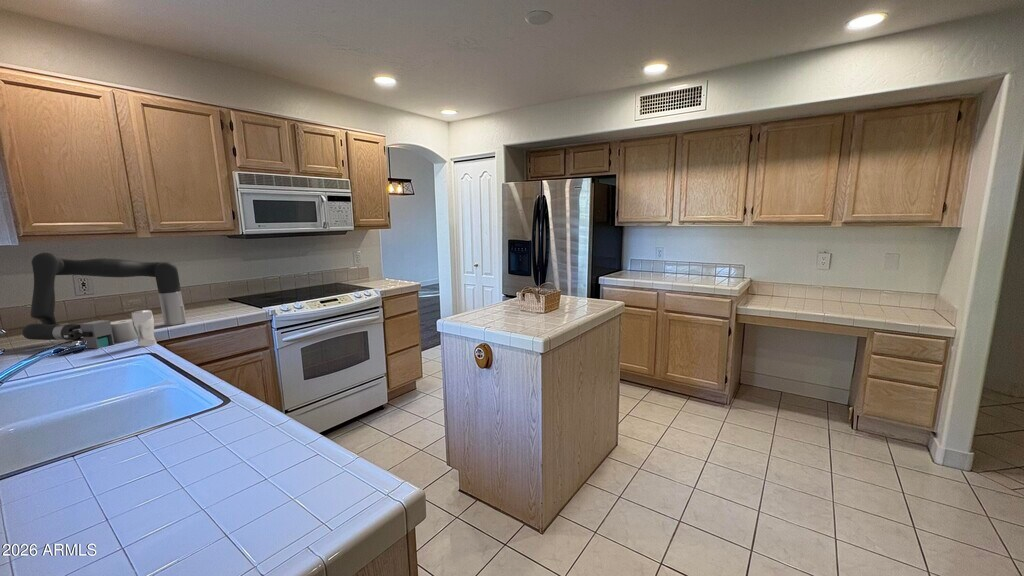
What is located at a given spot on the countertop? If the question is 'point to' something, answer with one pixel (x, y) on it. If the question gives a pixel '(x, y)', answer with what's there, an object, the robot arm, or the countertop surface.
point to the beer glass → (144, 327)
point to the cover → (97, 332)
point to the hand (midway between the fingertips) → (101, 332)
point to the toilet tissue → (123, 331)
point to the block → (102, 341)
